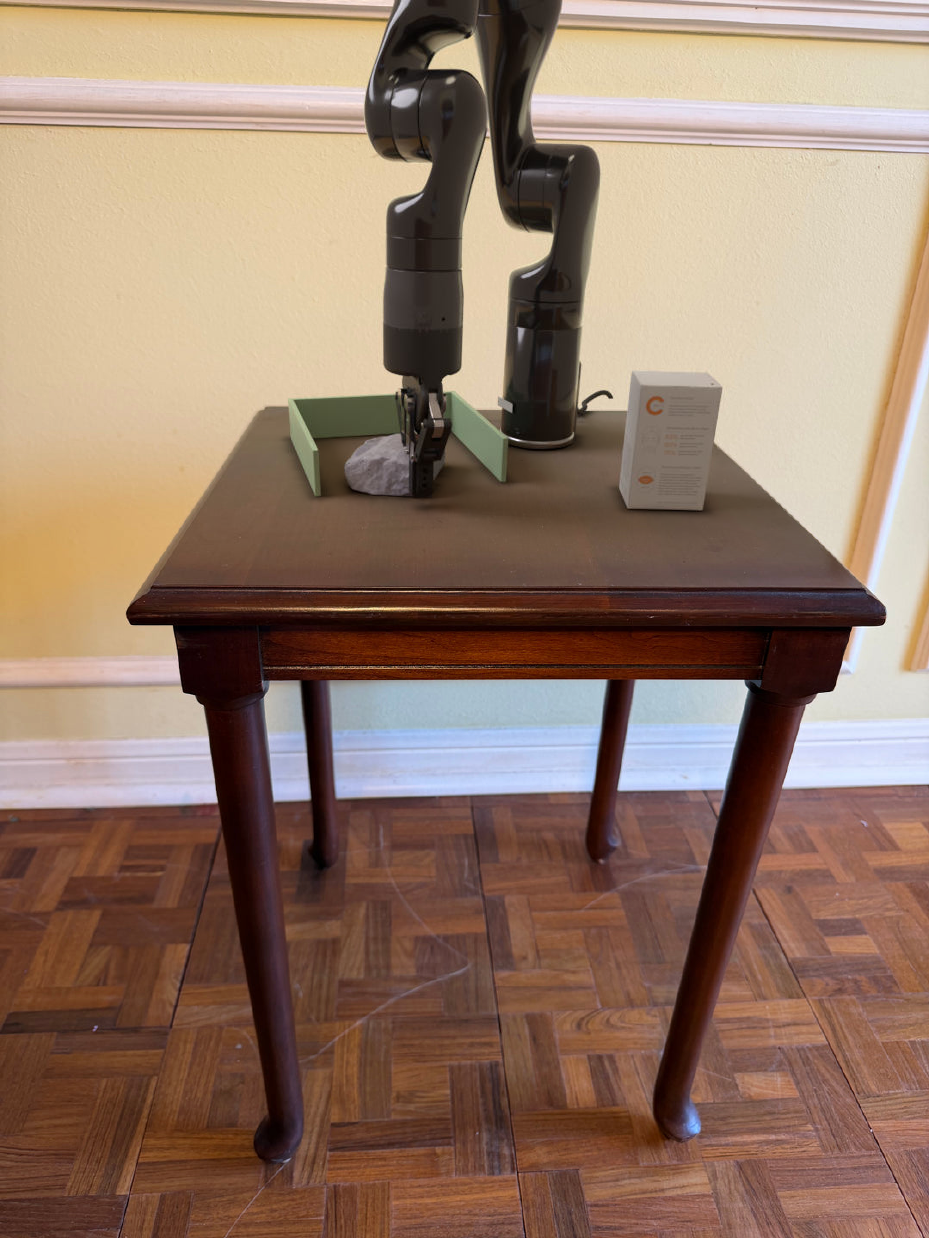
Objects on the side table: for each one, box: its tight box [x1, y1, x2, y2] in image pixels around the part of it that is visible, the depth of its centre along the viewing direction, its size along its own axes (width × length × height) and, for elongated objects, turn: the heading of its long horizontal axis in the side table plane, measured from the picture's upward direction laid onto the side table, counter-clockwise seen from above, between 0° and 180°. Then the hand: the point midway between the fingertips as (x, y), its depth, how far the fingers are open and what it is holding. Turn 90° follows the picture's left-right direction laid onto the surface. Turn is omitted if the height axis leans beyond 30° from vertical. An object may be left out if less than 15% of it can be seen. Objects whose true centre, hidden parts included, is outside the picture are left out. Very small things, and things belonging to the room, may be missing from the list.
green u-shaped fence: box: [287, 390, 509, 497], centre depth 103 cm, size 21×21×5 cm
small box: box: [618, 370, 723, 511], centre depth 91 cm, size 8×6×13 cm
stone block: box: [343, 433, 446, 497], centre depth 97 cm, size 12×5×10 cm
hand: (420, 495), depth 90 cm, fingers closed
